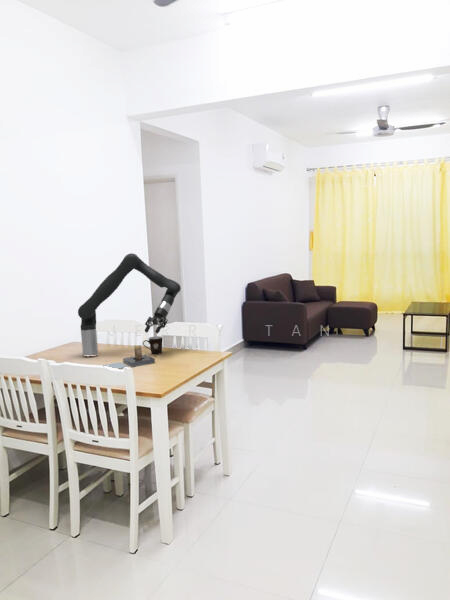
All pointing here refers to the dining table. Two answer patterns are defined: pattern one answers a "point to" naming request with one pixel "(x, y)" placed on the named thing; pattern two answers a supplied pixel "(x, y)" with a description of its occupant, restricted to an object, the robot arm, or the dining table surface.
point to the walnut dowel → (138, 352)
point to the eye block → (138, 361)
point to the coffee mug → (155, 345)
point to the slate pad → (116, 365)
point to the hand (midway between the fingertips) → (151, 332)
